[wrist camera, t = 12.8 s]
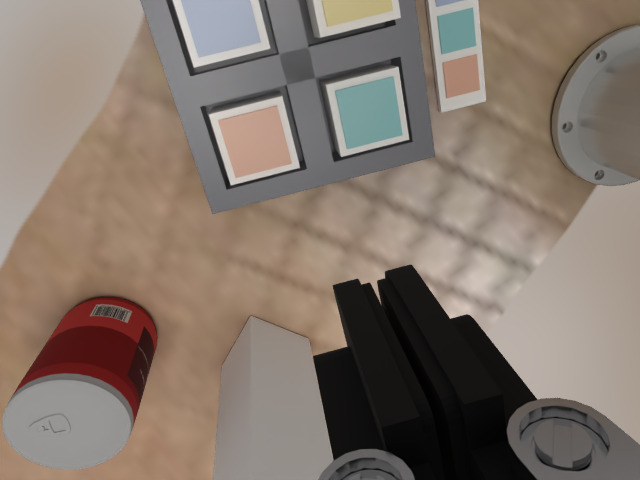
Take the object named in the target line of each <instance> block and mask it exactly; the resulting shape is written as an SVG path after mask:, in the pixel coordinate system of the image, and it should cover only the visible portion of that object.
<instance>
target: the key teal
mask: <svg viewBox="0 0 640 480" xmlns="http://www.w3.org/2000/svg"><path fill="white" fill-rule="evenodd" d="M320 85H321V89H322V94H323V99H324V103H325V108H326V113H327V117H328V122H329V127H330V131H331V136H332V141H333V145H334V148H335V149H336V151H337V152H338V153H339V155H340V156H341V157H343V156H347V155H351V154H355V153H359V152H363V151H367V150H370V149H374V148H378V147H382V146H386V145H390V144H394V143H398V142H402V141H405V140H409V134H408V128H407V121H406V114H405V107H404V101H403V94H402V87H401V80H400V74H399V67H397V66H393V65H388V64H384V65H380V66H376V67H372V68H368V69H364V70H360V71H356V72H352V73H348V74H344V75H340V76H336V77H332V78H328V79H324V80H320Z"/></svg>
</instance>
